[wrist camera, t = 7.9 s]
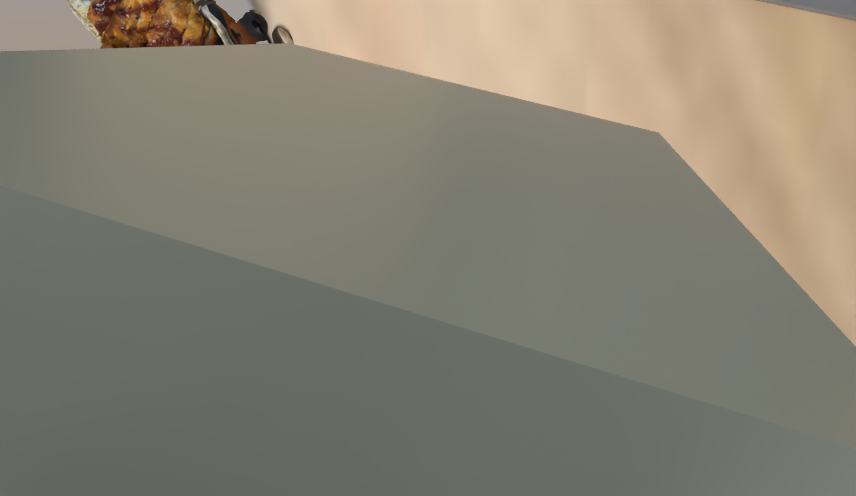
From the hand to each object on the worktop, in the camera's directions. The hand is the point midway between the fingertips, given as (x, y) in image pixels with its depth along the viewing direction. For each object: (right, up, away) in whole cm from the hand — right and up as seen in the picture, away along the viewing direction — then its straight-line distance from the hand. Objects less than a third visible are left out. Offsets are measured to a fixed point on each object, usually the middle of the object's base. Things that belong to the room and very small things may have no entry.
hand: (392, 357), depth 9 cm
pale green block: (0, 0, +1) cm, 1 cm away
